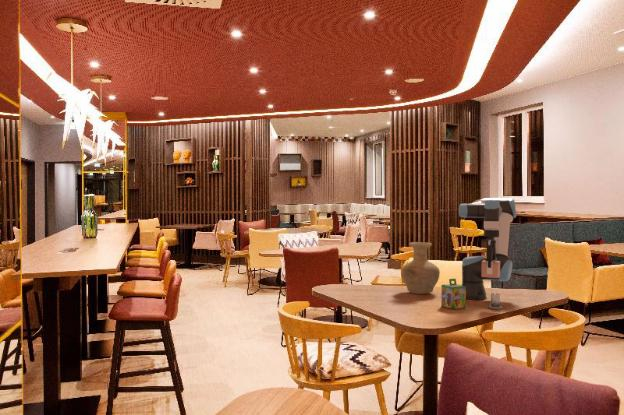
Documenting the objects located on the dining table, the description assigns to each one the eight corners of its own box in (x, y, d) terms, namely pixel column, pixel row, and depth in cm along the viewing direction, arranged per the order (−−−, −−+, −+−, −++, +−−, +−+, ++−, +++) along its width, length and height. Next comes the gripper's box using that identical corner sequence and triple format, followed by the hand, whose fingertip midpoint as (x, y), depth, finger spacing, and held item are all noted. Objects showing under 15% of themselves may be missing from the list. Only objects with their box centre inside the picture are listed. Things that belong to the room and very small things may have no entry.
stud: (487, 308, 272) (487, 294, 272) (488, 306, 279) (489, 292, 278) (501, 310, 269) (501, 295, 269) (503, 307, 276) (503, 293, 276)
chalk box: (453, 309, 270) (453, 280, 269) (440, 306, 278) (440, 278, 278) (466, 308, 274) (466, 279, 274) (453, 304, 282) (453, 277, 282)
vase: (397, 295, 309) (397, 244, 308) (404, 289, 330) (405, 241, 329) (436, 298, 301) (437, 245, 300) (441, 291, 322) (442, 242, 321)
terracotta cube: (481, 276, 273) (481, 261, 273) (484, 275, 280) (484, 260, 280) (497, 277, 269) (497, 262, 270) (500, 276, 277) (500, 261, 277)
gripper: (496, 230, 264) (495, 275, 264) (502, 229, 282) (501, 271, 282) (480, 229, 267) (479, 274, 267) (487, 228, 286) (486, 270, 286)
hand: (491, 273), depth 275 cm, fingers closed on terracotta cube, 8 cm apart
